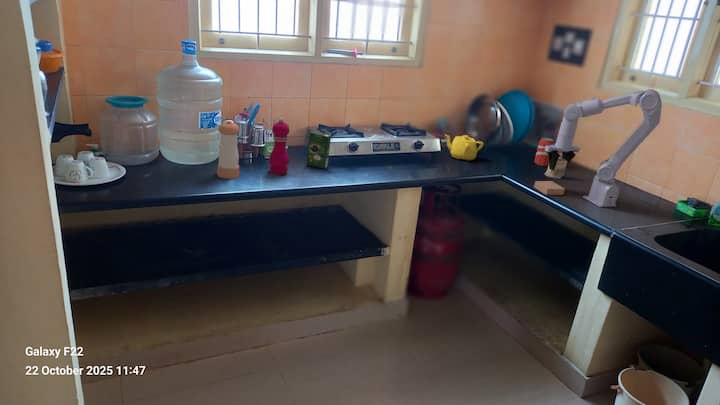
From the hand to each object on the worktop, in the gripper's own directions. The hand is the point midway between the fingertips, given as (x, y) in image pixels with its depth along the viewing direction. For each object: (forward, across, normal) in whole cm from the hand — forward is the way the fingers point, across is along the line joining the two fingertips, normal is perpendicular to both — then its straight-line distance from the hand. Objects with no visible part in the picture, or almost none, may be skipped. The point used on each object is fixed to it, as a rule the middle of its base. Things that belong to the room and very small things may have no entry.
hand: (556, 169), depth 201 cm
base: (+8, +3, +2) cm, 9 cm away
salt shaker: (+9, +123, -16) cm, 125 cm away
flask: (+9, -12, -14) cm, 21 cm away
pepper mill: (+9, +105, -19) cm, 107 cm away
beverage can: (+9, -16, -30) cm, 35 cm away
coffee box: (+9, +90, -25) cm, 93 cm away
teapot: (+9, +21, -38) cm, 44 cm away
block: (+2, 0, 0) cm, 2 cm away
